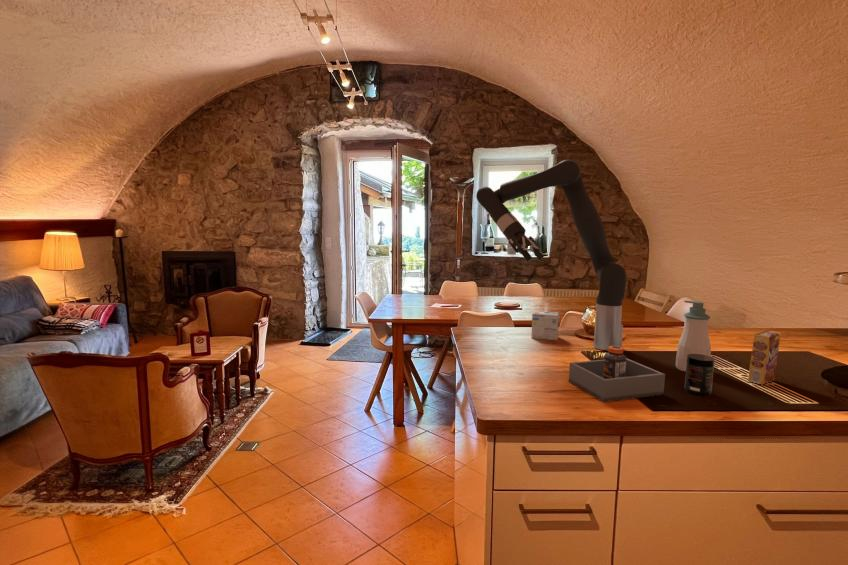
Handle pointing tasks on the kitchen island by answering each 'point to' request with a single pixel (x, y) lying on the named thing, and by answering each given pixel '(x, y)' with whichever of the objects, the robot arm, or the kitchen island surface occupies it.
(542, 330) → the light bulb box
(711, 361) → the supplement container
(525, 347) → the kitchen island surface
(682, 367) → the soap bottle
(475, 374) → the kitchen island surface
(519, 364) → the kitchen island surface
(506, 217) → the robot arm
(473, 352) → the kitchen island surface
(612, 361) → the pill bottle
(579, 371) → the tote
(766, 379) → the candy box
